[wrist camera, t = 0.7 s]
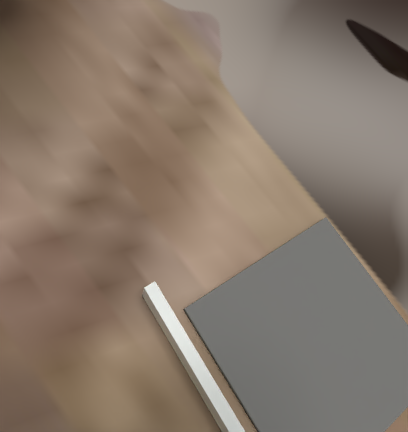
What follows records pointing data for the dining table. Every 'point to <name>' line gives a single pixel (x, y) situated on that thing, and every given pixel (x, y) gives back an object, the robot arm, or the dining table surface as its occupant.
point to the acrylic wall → (191, 360)
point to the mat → (308, 339)
